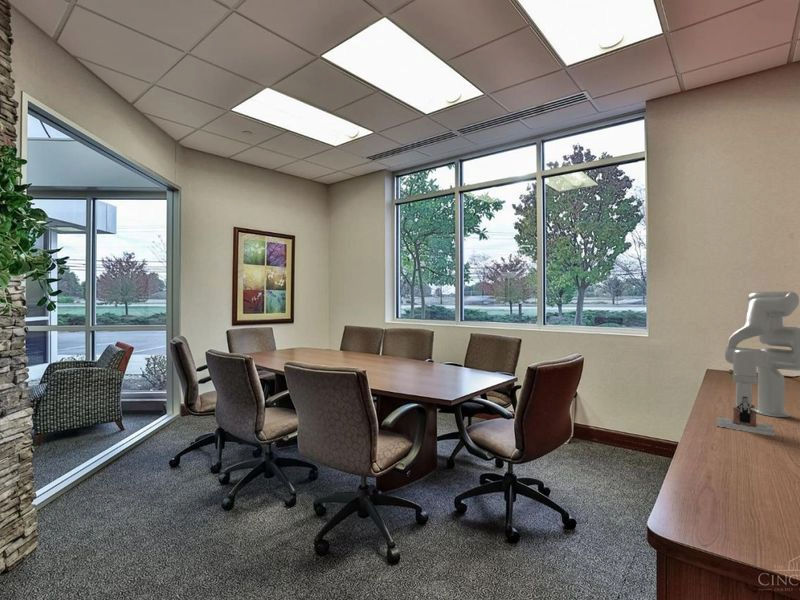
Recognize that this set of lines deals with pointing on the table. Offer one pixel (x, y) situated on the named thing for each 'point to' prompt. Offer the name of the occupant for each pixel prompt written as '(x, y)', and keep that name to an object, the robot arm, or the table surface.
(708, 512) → the table surface
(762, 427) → the track
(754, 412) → the lighter
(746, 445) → the table surface
